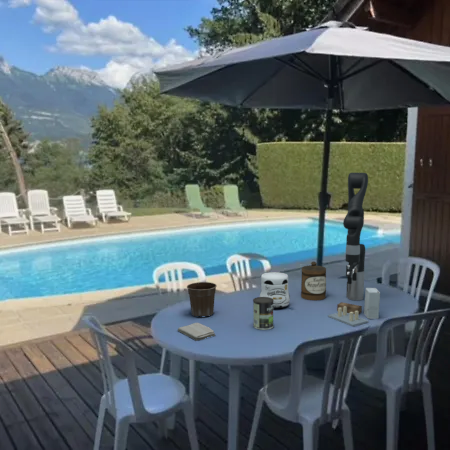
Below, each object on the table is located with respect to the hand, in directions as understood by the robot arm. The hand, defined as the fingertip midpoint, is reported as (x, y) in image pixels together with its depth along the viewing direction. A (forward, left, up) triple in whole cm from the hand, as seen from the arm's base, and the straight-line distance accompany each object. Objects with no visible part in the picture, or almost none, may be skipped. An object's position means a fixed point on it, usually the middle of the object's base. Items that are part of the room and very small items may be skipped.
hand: (352, 282), depth 268 cm
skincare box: (+12, +3, -17) cm, 21 cm away
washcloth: (-18, -87, -18) cm, 90 cm away
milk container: (-32, -29, -17) cm, 46 cm away
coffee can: (-8, -54, -17) cm, 57 cm away
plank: (-1, -1, -17) cm, 17 cm away
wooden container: (-33, +1, -17) cm, 37 cm away
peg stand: (+8, -11, -17) cm, 22 cm away
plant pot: (-42, -71, -17) cm, 84 cm away
